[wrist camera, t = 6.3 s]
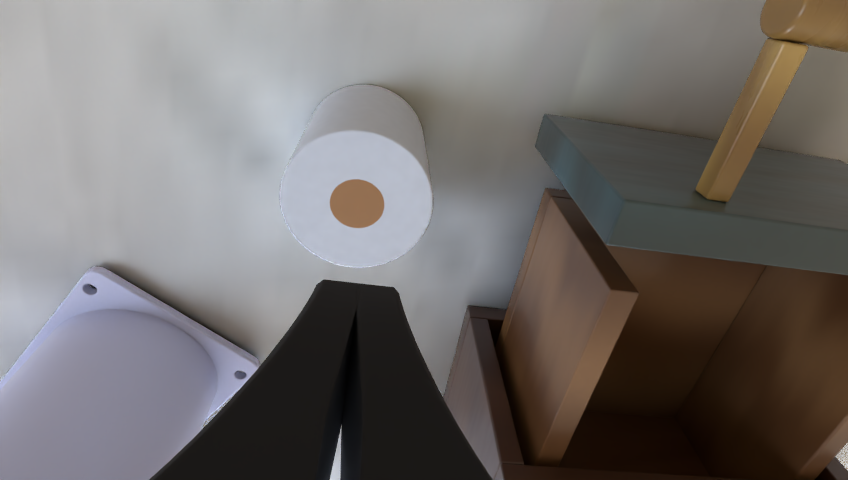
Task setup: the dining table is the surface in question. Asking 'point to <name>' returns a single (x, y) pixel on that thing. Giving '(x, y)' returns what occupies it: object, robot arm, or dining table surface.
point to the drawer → (688, 290)
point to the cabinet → (492, 420)
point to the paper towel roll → (359, 179)
